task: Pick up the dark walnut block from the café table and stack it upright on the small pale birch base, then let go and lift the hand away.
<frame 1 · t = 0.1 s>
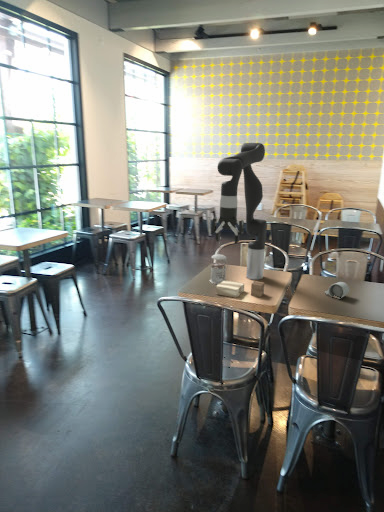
hand: (227, 242, 171), 29 cm above the table, tool pointing down, fingers open, 8 cm apart
french press: (219, 281, 210), on the table
ceramic mug: (335, 296, 189), on the table
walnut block: (257, 294, 190), on the table
birch base: (229, 292, 192), on the table
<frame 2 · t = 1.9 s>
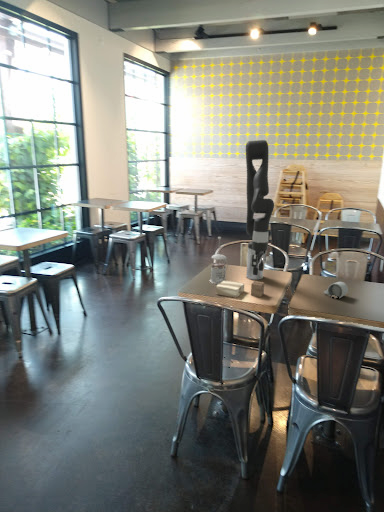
hand: (258, 272, 187), 11 cm above the table, tool pointing down, fingers open, 8 cm apart
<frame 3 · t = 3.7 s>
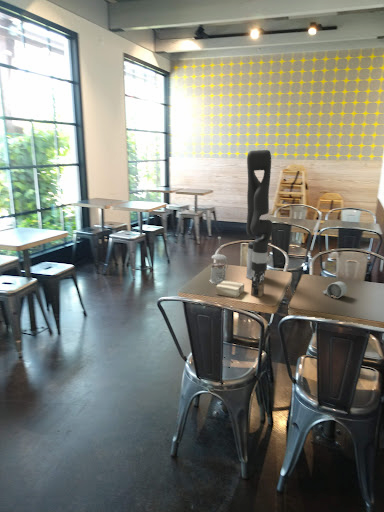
hand: (257, 293, 190), 1 cm above the table, tool pointing down, fingers closed on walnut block, 5 cm apart
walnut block: (257, 294, 190), on the table, touching gripper
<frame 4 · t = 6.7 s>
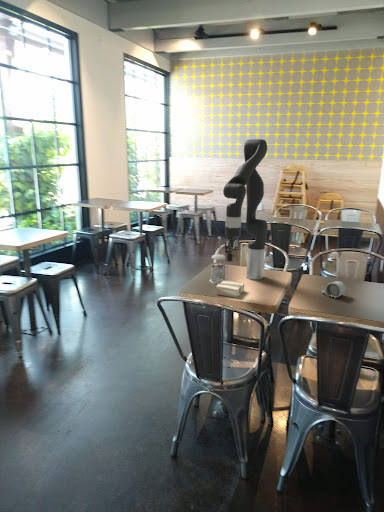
hand: (231, 259, 188), 17 cm above the table, tool pointing down, fingers closed on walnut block, 5 cm apart
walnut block: (231, 260, 188), point 16 cm above the table, touching gripper
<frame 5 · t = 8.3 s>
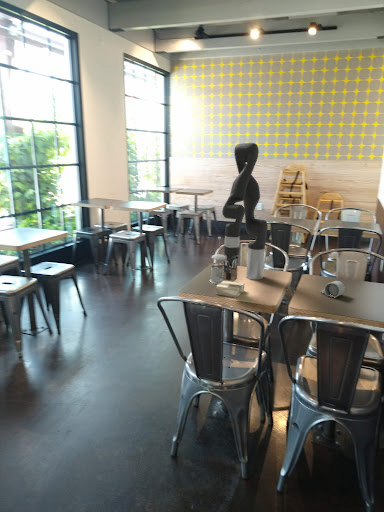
hand: (230, 278, 190), 7 cm above the table, tool pointing down, fingers closed on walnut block, 5 cm apart
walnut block: (230, 279, 190), point 7 cm above the table, touching gripper
when the fingers open (6 cm above the table, at t = 9.5 s): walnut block drops 1 cm, resting on birch base.
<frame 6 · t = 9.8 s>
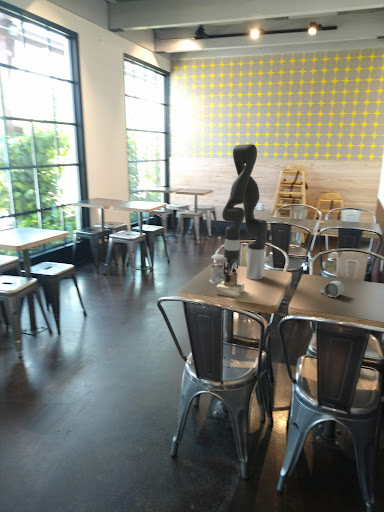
hand: (230, 279, 191), 7 cm above the table, tool pointing down, fingers open, 7 cm apart
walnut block: (230, 284, 191), point 4 cm above the table, touching birch base
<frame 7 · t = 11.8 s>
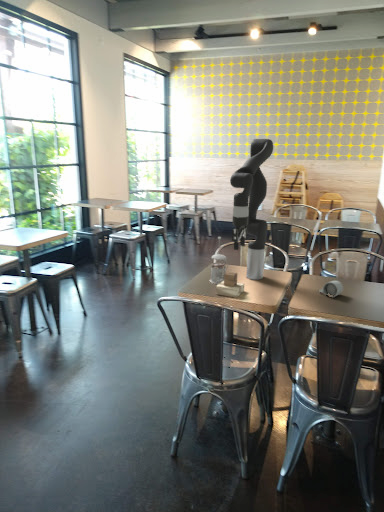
hand: (239, 247, 188), 23 cm above the table, tool pointing down, fingers open, 8 cm apart
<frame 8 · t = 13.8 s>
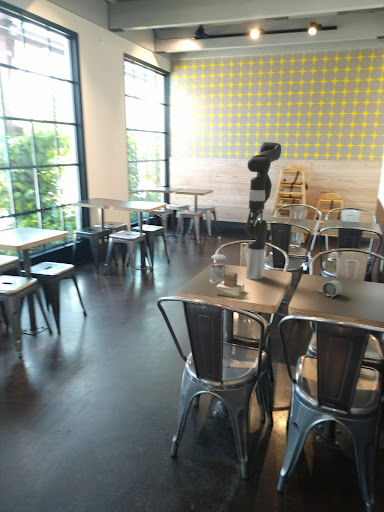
hand: (255, 232, 190), 30 cm above the table, tool pointing down, fingers open, 8 cm apart
at the end: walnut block inside the target area on the birch base (0.0 cm from its centre), point 4.0 cm above the birch base's base; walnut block tilted 0°; the gripper is holding nothing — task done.
